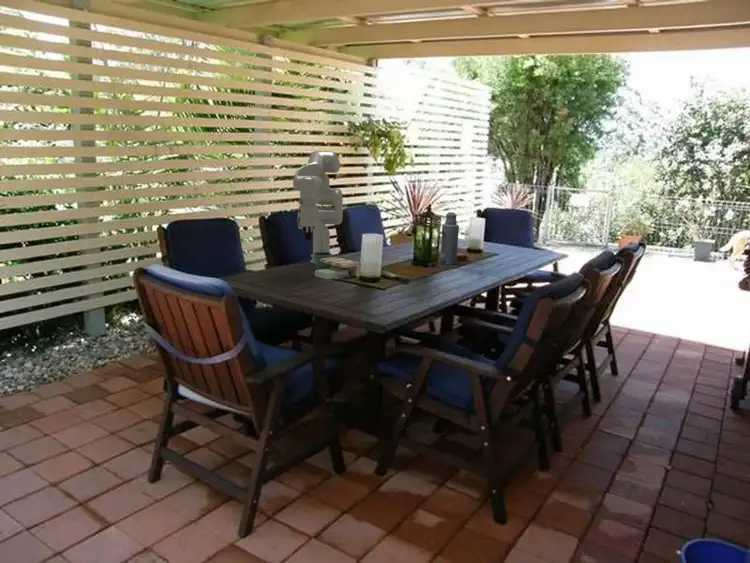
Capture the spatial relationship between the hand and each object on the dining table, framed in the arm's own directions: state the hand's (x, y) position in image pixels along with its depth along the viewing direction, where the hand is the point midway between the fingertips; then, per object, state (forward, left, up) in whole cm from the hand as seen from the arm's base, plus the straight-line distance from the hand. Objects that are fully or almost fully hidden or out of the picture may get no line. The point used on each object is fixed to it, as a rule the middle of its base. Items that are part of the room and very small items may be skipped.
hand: (308, 239), depth 291 cm
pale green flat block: (+1, +14, -20) cm, 24 cm away
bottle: (+11, +92, -20) cm, 95 cm away
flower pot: (-15, +20, -20) cm, 32 cm away
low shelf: (+1, +18, -20) cm, 27 cm away
